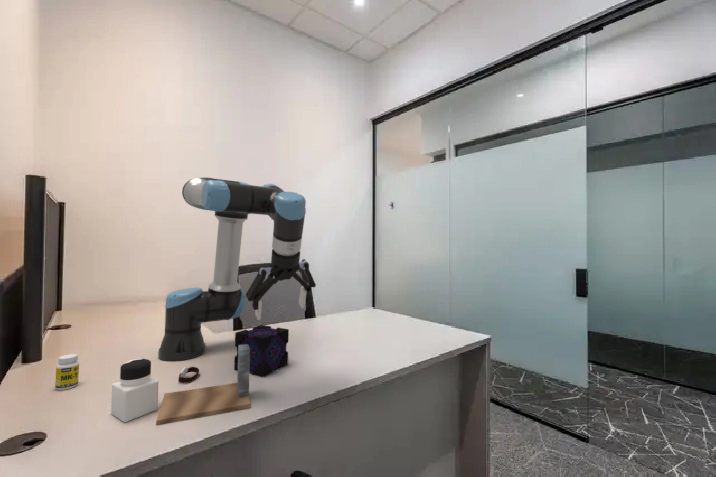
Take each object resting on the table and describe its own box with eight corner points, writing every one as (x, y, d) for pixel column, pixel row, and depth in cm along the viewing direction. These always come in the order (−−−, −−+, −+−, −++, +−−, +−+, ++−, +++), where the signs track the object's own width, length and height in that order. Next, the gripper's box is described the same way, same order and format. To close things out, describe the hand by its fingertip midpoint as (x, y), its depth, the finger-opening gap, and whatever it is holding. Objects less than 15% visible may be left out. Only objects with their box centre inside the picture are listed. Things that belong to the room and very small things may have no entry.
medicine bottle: (157, 410, 78) (159, 360, 78) (124, 423, 72) (125, 369, 72) (143, 401, 82) (145, 354, 82) (110, 413, 76) (112, 362, 76)
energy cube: (260, 358, 114) (261, 324, 114) (287, 364, 109) (288, 329, 109) (234, 370, 103) (235, 332, 103) (262, 377, 98) (263, 338, 98)
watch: (188, 373, 100) (188, 362, 100) (203, 374, 100) (203, 362, 100) (173, 384, 92) (173, 372, 92) (189, 385, 92) (189, 372, 92)
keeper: (156, 425, 71) (158, 366, 72) (164, 397, 84) (166, 347, 84) (250, 407, 80) (251, 355, 80) (245, 385, 92) (246, 339, 93)
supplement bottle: (58, 392, 86) (59, 360, 86) (52, 387, 88) (53, 356, 88) (81, 385, 90) (82, 355, 90) (74, 381, 92) (75, 352, 92)
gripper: (243, 263, 77) (241, 330, 86) (333, 250, 91) (323, 309, 100) (234, 248, 82) (233, 313, 91) (320, 238, 96) (312, 295, 105)
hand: (280, 311), depth 96 cm, fingers open, 13 cm apart
